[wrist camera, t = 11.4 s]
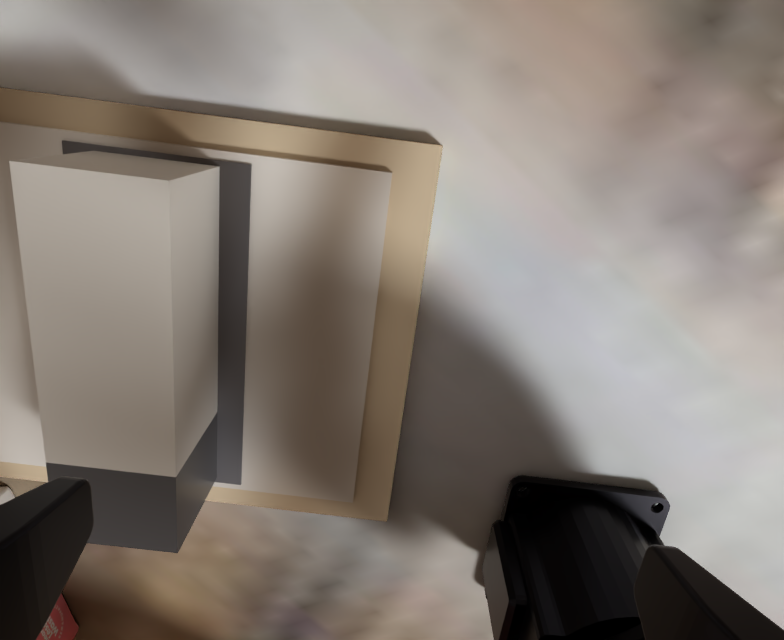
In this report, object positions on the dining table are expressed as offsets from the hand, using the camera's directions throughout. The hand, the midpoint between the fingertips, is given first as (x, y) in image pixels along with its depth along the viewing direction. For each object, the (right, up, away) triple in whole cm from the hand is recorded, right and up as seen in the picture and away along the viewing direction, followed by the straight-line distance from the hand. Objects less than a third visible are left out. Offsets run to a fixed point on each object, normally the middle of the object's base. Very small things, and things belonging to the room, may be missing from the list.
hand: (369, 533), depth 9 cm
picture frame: (-9, +3, +12) cm, 15 cm away
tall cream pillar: (-8, +3, +11) cm, 14 cm away
